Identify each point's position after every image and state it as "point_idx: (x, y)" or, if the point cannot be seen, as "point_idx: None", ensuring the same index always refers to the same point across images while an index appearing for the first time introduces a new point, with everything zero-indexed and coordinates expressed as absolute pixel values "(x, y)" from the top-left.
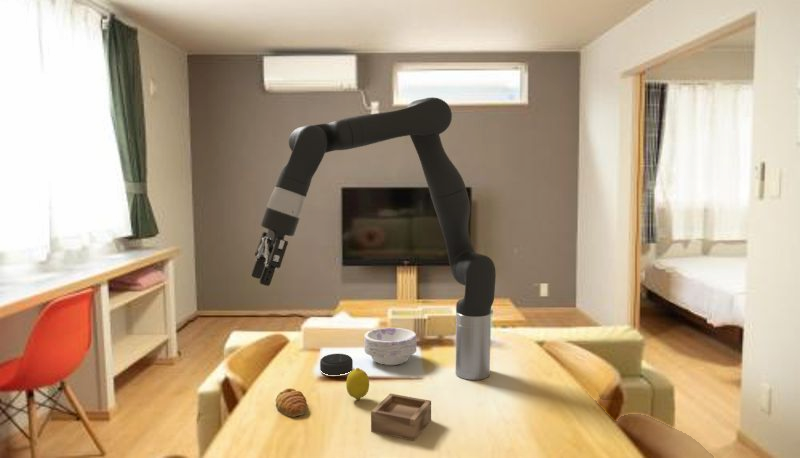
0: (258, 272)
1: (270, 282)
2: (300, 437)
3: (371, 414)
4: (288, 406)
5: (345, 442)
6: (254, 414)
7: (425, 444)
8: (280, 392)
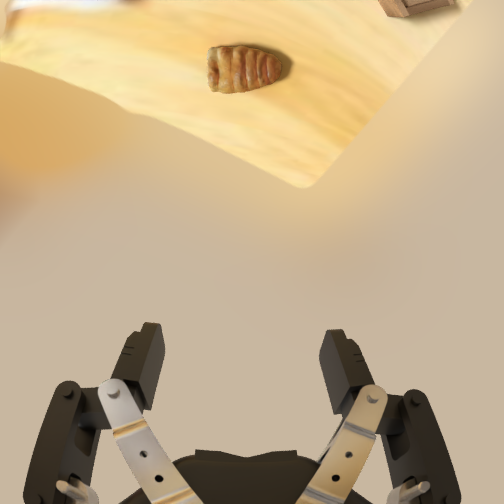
0: (155, 353)
1: (345, 337)
2: (343, 96)
3: (401, 16)
4: (263, 84)
5: (392, 59)
6: (230, 125)
7: None
8: (212, 85)
